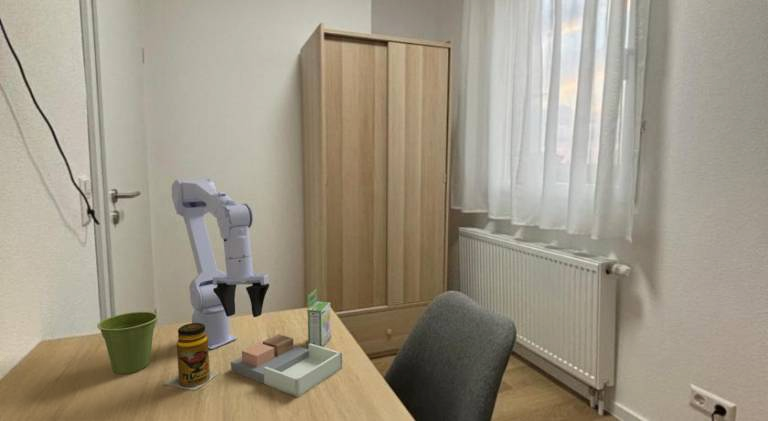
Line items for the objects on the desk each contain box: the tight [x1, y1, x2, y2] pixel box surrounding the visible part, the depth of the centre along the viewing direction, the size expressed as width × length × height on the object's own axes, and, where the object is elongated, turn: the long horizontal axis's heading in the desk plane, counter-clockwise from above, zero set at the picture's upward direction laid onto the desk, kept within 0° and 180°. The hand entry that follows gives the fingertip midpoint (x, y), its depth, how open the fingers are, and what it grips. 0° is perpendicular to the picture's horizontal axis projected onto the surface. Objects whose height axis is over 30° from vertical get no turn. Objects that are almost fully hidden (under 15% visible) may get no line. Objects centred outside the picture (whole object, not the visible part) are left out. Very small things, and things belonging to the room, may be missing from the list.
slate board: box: [230, 344, 309, 384], centre depth 96 cm, size 11×14×2 cm
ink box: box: [306, 288, 332, 348], centre depth 107 cm, size 7×4×13 cm, turn 168°
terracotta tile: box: [241, 342, 275, 367], centre depth 94 cm, size 5×5×2 cm
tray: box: [263, 343, 343, 398], centre depth 90 cm, size 10×14×4 cm
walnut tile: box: [262, 333, 294, 356], centre depth 99 cm, size 5×5×2 cm
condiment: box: [163, 322, 220, 391], centre depth 89 cm, size 7×8×12 cm
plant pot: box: [96, 311, 159, 375], centre depth 95 cm, size 12×12×11 cm
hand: (243, 315), depth 95 cm, fingers open, 7 cm apart
